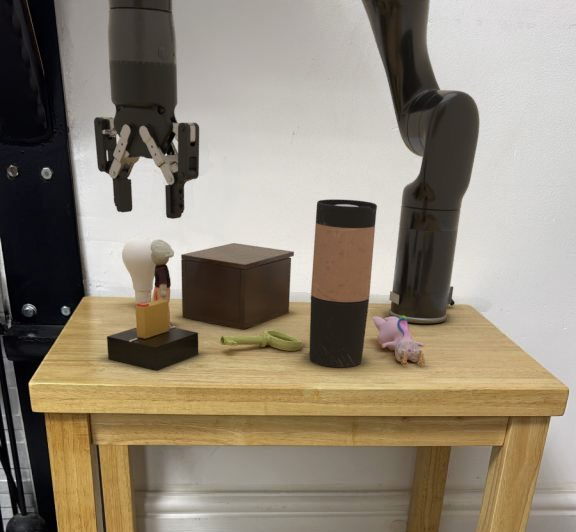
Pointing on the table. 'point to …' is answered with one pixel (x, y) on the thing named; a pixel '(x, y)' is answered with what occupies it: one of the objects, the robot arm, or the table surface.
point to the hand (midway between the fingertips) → (148, 214)
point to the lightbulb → (140, 266)
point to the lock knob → (152, 318)
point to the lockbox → (235, 293)
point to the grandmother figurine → (161, 271)
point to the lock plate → (153, 348)
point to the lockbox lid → (237, 255)
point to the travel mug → (341, 281)
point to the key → (265, 340)
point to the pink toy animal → (398, 339)
